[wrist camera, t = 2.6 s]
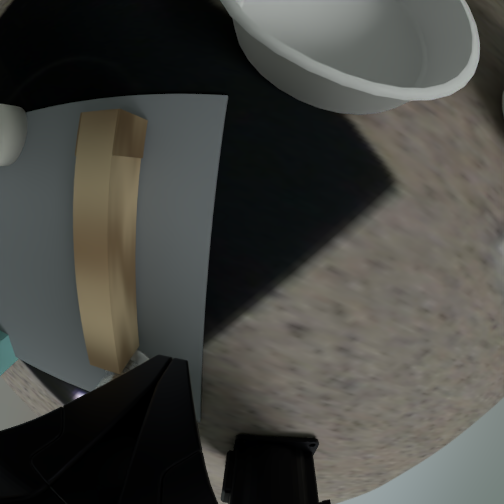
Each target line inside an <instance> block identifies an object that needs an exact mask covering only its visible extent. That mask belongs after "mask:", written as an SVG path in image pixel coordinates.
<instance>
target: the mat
mask: <svg viewBox="0 0 504 504" xmlns="http://www.w3.org/2000/svg"><path fill="white" fill-rule="evenodd" d="M227 101H228V95H210V94H151V95H133V96H120V97H110V98H101V99H93V100H86V101H80V102H73V103H68V104H62V105H57V106H52V107H47V108H43V109H38V110H34V111H30V112H26V116H27V134H26V139H25V143H24V146H23V148H22V151H21V153H20V155H19V156H18V158H17V159H16V160H15V161H14V162H13V163H12V164H11V165H8V166H0V331H2V332H4V333H6V334H8V335H9V339H10V342H11V345H12V348H13V351H14V354H15V356H16V357H17V358H19V359H21V360H23V361H25V362H26V363H28V364H30V365H32V366H34V367H36V368H38V369H40V370H42V371H44V372H46V373H48V374H50V375H52V376H55V377H57V378H59V379H61V380H63V381H66V382H68V383H70V384H73V385H75V386H77V387H80V388H82V389H85V390H87V391H90V392H91V391H93V390H94V389H95V388H96V387H97V385H98V384H99V382H100V381H101V380H102V378H103V377H104V376H105V374H106V372H105V370H104V369H101V368H98V367H95V366H92V365H90V362H89V358H88V353H87V349H86V344H85V339H84V333H83V328H82V322H81V316H80V309H79V301H78V293H77V284H76V274H75V261H74V241H73V196H74V176H75V164H76V156H75V148H76V140H77V132H78V125H79V119H80V113H82V112H90V111H99V110H110V109H122V110H125V111H127V112H130V113H132V114H134V115H137V116H139V117H141V118H143V119H146V120H148V123H147V129H146V136H145V144H144V152H143V158H141V163H140V173H139V185H138V198H137V216H136V249H135V273H136V306H137V323H138V336H139V347H138V349H139V350H140V351H142V352H143V353H145V354H146V355H147V356H148V357H149V358H150V359H151V358H152V357H154V356H156V355H158V354H161V355H165V356H170V357H172V358H180V359H185V360H187V361H188V364H189V372H190V379H191V387H192V394H193V400H194V407H195V413H196V419H197V422H200V421H201V382H202V357H203V336H204V319H205V303H206V289H207V276H208V263H209V252H210V241H211V230H212V220H213V210H214V201H215V192H216V183H217V175H218V166H219V158H220V151H221V143H222V136H223V128H224V121H225V114H226V108H227Z"/></svg>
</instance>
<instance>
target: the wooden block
mask: <svg viewBox="0 0 504 504" xmlns="http://www.w3.org/2000/svg"><path fill="white" fill-rule="evenodd" d="M147 123H148V120H146V119H143V118H141V117H139V116H137V115H134V114H132V113H130V112H127V111H125V110H122V109H110V110H99V111H90V112H82V113H80V119H79V125H78V132H77V140H76V148H75V156H76V164H75V176H74V196H73V241H74V261H75V274H76V284H77V293H78V301H79V309H80V316H81V322H82V328H83V333H84V339H85V344H86V349H87V353H88V358H89V362H90V365H92V366H95V367H98V368H101V369H104V370H107V371H111V372H114V373H117V374H121V372H122V371H123V369H124V368H125V366H126V365H127V363H128V362H129V360H130V359H131V357H132V356H133V354H134V353H135V351H136V350H137V349H138V347H139V336H138V323H137V306H136V273H135V249H136V216H137V198H138V185H139V173H140V163H141V158H143V152H144V144H145V136H146V129H147Z"/></svg>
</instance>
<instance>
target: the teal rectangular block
mask: <svg viewBox="0 0 504 504" xmlns="http://www.w3.org/2000/svg"><path fill="white" fill-rule="evenodd" d="M17 360H18V358H17V357H16V356H15V354H14V351H13V348H12V345H11V342H10V339H9V335H8V334H6V333H4V332H2V331H0V376H1V375H2V374H3V373H4V372H5V371H6V370H7V369H8V368H9V367H10V366H11V365H12V364H14V363H15V362H16V361H17Z"/></svg>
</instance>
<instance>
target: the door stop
mask: <svg viewBox="0 0 504 504" xmlns="http://www.w3.org/2000/svg"><path fill="white" fill-rule="evenodd" d="M26 134H27V116H26V113H25V111H24V109H23V108H21V107H18V106H12V105H6V104H0V166H8V165H11V164H12V163H13V162H14V161H15V160H16V159H17V158H18V156H19V155H20V153H21V151H22V148H23V146H24V143H25V139H26Z"/></svg>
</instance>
